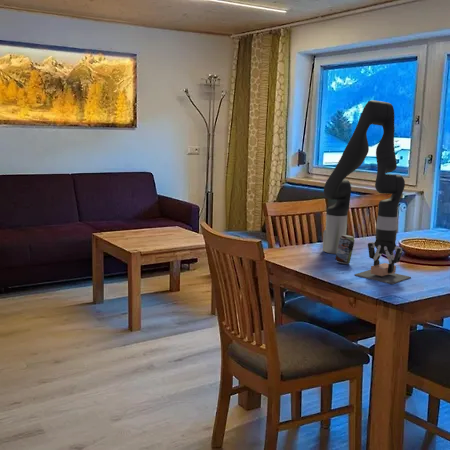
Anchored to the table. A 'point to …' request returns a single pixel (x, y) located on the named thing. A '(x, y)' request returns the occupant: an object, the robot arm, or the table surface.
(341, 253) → the beverage can
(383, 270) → the tan rectangular block
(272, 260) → the table surface
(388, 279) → the mat
